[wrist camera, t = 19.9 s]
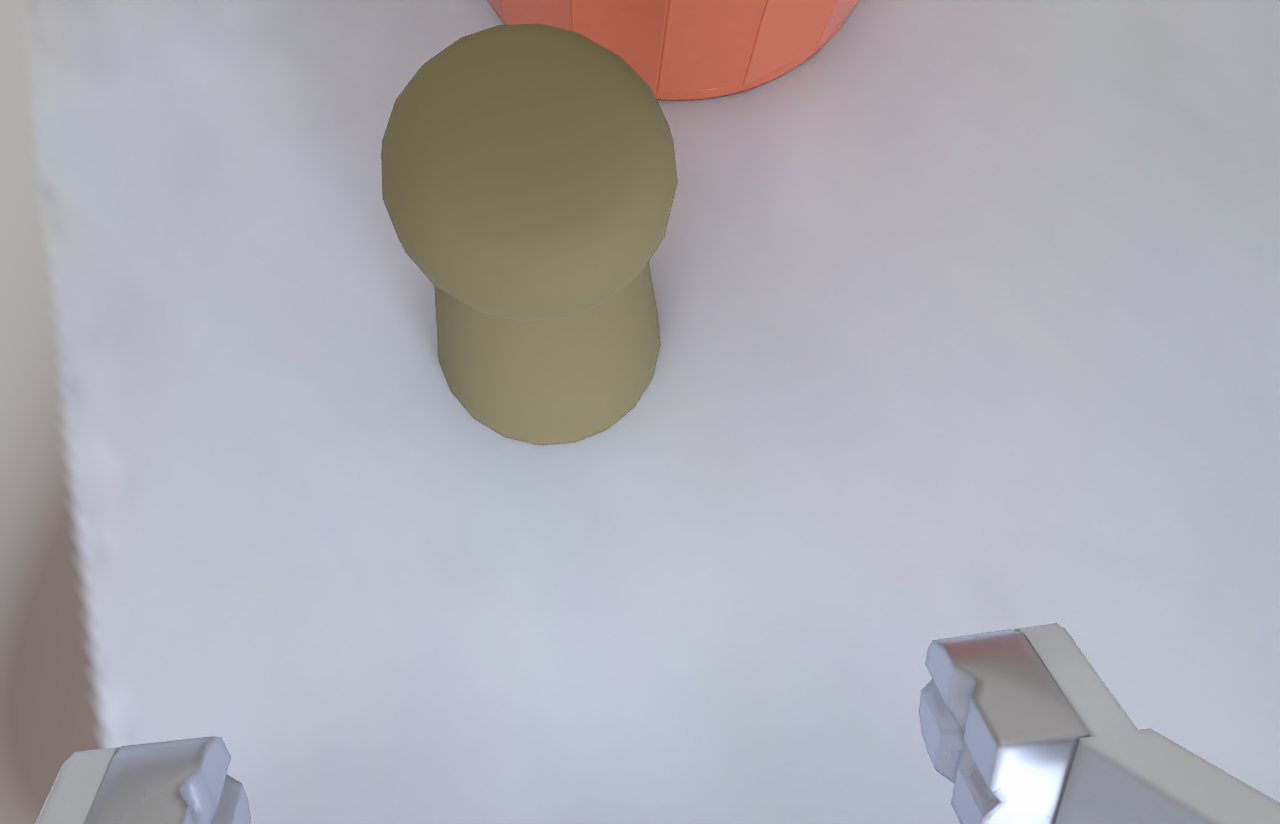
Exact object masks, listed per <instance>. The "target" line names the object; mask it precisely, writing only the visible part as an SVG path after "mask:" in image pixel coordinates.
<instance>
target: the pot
mask: <svg viewBox="0 0 1280 824" xmlns="http://www.w3.org/2000/svg"><path fill="white" fill-rule="evenodd" d="M858 1H859V0H488V2H489V3H490V4H491V6H492V7H493V9H494V10H495V12H496V13H497V15H498V16H499V17H500V19H501V20H502V21H503V22H504V23H505V24H506V25H516V24H544V25H548V26H552V27H556V28H560V29H565V30H569V31H573V32H577V33H580V34H581V35H583V36H585V37H587V38H589V39H590V40H592V41H594V42H596V43H597V44H599V45H601V46H603V47H604V48H606V49H608V50H610V51H612V52H613V53H615V54H617V55H619V56H620V57H622V58H623V59H624V60H625V61H626V62H627V63H628V64H629V65H630V66H631V68H632V69H633V70H634V71H635V72H636V73H637V74H638V75H639V76H640V77H641V78H642V79H643V80H644V81H645V82H646V83H647V84H648V85H649V87H650V88H651V89H652V91H653V93H654V96H655V98H656V99H666V100H688V99H703V98H710V97H718V96H725V95H729V94H732V93H736V92H740V91H743V90H747V89H751V88H754V87H756V86H758V85H761V84H763V83H766V82H768V81H771V80H773V79H776V78H777V77H779V76H781V75H783V74H784V73H786V72H788V71H790V70H791V69H793V68H795V67H797V66H798V65H800V64H801V63H803V62H804V61H805V60H806V59H808V58H809V57H810V56H812V55H813V54H814V53H816V52H817V51H818V50H820V48H821V47H822V46H823V45H824V44H825V43H826V42H827V41H828V40H829V39H830V38H831V37H832V36H833V35H834V34H835V33H836V32H837V31H838V30H839V28H840V27H841V25H842V24H843V23H844V21H845V20H846V19H847V17H848V16H849V14H850V13H851V11H852V9H853V8H854V6H855V4H856V3H857V2H858Z"/></svg>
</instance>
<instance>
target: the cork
mask: <svg viewBox="0 0 1280 824" xmlns="http://www.w3.org/2000/svg"><path fill="white" fill-rule="evenodd" d="M381 161H382V193H383V200H384V203H385V205H386V208H387V210H388V213H389V215H390V218H391V220H392V223H393V225H394V228H395V230H396V233H397V235H398V238H399V240H400V242H401V244H402V246H403V248H404V250H405V252H406V253H407V254H408V256H409V257H410V258H411V259H412V260H413V261H414V262H415V264H416V265H417V266H418V267H419V268H420V269H421V271H422V272H423V273H424V274H425V275H426V276H427V277H428V279H429V280H430V281H431V282H432V283H433V284H434V287H435V304H436V322H437V340H438V357H439V362H440V365H441V367H442V370H443V372H444V375H445V378H446V380H447V383H448V385H449V388H450V390H451V392H452V393H453V395H454V396H455V397H456V398H457V399H458V400H459V402H460V403H461V404H462V405H463V406H464V408H465V409H466V410H467V411H468V412H469V413H470V415H471V416H472V417H473V418H474V419H476V420H477V421H479V422H481V423H482V424H484V425H486V426H487V427H489V428H491V429H492V430H494V431H495V432H497V433H499V434H500V435H502V436H504V437H508V438H512V439H516V440H520V441H525V442H529V443H533V444H537V445H544V444H557V443H570V442H576V441H579V440H581V439H584V438H586V437H589V436H591V435H594V434H596V433H599V432H601V431H604V430H606V429H608V428H609V427H611V426H612V425H613V424H614V423H615V422H617V421H618V420H619V419H620V418H621V417H623V416H624V415H625V414H626V413H627V412H629V411H630V410H631V409H632V408H633V407H635V405H636V403H637V402H638V400H639V399H640V397H641V395H642V394H643V392H644V391H645V389H646V387H647V386H648V384H649V383H650V381H651V379H652V378H653V374H654V369H655V365H656V361H657V357H658V352H659V348H660V337H659V327H658V317H657V309H656V303H655V297H654V291H653V286H652V280H651V274H650V268H649V262H648V261H649V260H650V258H651V256H652V255H653V253H654V252H655V250H656V249H657V247H658V246H659V244H660V242H661V241H662V239H663V238H664V236H665V232H666V228H667V223H668V219H669V215H670V211H671V207H672V203H673V198H674V194H675V190H676V186H677V182H678V181H677V172H676V163H675V153H674V144H673V138H672V135H671V132H670V128H669V125H668V123H667V121H666V119H665V117H664V115H663V113H662V110H661V108H660V106H659V104H658V102H657V100H656V98H655V96H654V93H653V91H652V89H651V88H650V87H649V85H648V84H647V83H646V82H645V81H644V80H643V79H642V78H641V77H640V76H639V75H638V74H637V73H636V72H635V71H634V70H633V69H632V68H631V66H630V65H629V64H628V63H627V62H626V61H625V60H624V59H623V58H622V57H620V56H619V55H617V54H615V53H613V52H612V51H610V50H608V49H606V48H604V47H603V46H601V45H599V44H597V43H596V42H594V41H592V40H590V39H589V38H587V37H585V36H583V35H581V34H580V33H577V32H573V31H569V30H565V29H560V28H556V27H552V26H548V25H544V24H516V25H498V26H495V27H492V28H489V29H486V30H483V31H480V32H477V33H474V34H471V35H468V36H465V37H462V38H460V39H459V40H457V41H456V42H454V43H453V44H452V45H450V46H449V47H447V48H446V49H444V50H443V51H442V52H440V53H439V54H437V55H436V56H434V57H433V58H432V59H430V60H429V61H428V62H426V63H425V64H424V65H423V66H421V68H420V69H419V70H418V71H417V73H416V74H415V75H414V77H413V78H412V79H411V81H410V82H409V83H408V85H407V86H406V87H405V89H404V90H403V91H402V93H401V94H400V95H399V97H398V98H397V99H396V101H395V104H394V107H393V110H392V113H391V116H390V119H389V122H388V125H387V128H386V131H385V134H384V137H383V141H382V153H381Z"/></svg>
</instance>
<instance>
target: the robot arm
mask: <svg viewBox="0 0 1280 824" xmlns="http://www.w3.org/2000/svg"><path fill="white" fill-rule="evenodd" d="M925 664H926V666H927V668H928V670H929V672H930V674H931V676H932V678H933V679H932V680H931V681H930V682H929V683H928V684H927V685H926V686H925V687H924V688H923V689H922V690H921V698H920V707H919V714H920V722H921V730H922V735H923V739H924V742H925V745H926V748H927V752H928V754H929V756H930V758H931V761H932V763H933V765H934V767H935V770H936V771H937V772H939V773H940V774H942V775H943V776H944V777H946V778H947V779H949V780H950V781H951V782H953V783H954V784H955V785H954V791H953V796H952V802H951V804H952V806H953V808H954V810H955V813H956V815H957V817H958V819H959V821H960V823H961V824H1280V803H1278V802H1276V801H1275V800H1273V799H1271V798H1270V797H1268V796H1266V795H1264V794H1263V793H1261V792H1259V791H1257V790H1256V789H1254V788H1252V787H1250V786H1249V785H1247V784H1245V783H1244V782H1242V781H1240V780H1238V779H1237V778H1235V777H1233V776H1231V775H1230V774H1228V773H1226V772H1225V771H1223V770H1221V769H1219V768H1218V767H1216V766H1214V765H1212V764H1211V763H1209V762H1207V761H1205V760H1204V759H1202V758H1200V757H1199V756H1197V755H1195V754H1193V753H1192V752H1190V751H1188V750H1186V749H1185V748H1183V747H1181V746H1180V745H1178V744H1176V743H1174V742H1173V741H1171V740H1169V739H1167V738H1166V737H1164V736H1162V735H1160V734H1159V733H1157V732H1155V731H1154V730H1152V729H1142V730H1137V728H1136V727H1135V725H1134V724H1133V723H1132V721H1131V720H1130V718H1129V717H1128V716H1127V714H1126V713H1125V711H1124V710H1123V709H1122V707H1121V706H1120V704H1119V703H1118V702H1117V700H1116V699H1115V697H1114V696H1113V695H1112V693H1111V692H1110V691H1109V689H1108V688H1107V686H1106V685H1105V684H1104V682H1103V681H1102V679H1101V678H1100V677H1099V675H1098V674H1097V672H1096V671H1095V670H1094V668H1093V667H1092V665H1091V664H1090V663H1089V661H1088V660H1087V658H1086V657H1085V656H1084V654H1083V653H1082V652H1081V650H1080V649H1079V647H1078V646H1077V645H1076V643H1075V642H1074V640H1073V639H1072V638H1071V636H1070V635H1069V633H1068V632H1067V631H1066V629H1065V628H1063V627H1061V626H1060V625H1058V624H1057V623H1055V624H1048V625H1041V626H1033V627H1026V628H1019V629H1015V630H1011V629H1009V630H1002V631H995V632H988V633H981V634H974V635H967V636H960V637H953V638H946V639H939V640H933V641H932V643H931V644H930V646H929V648H928V651H927V657H926V663H925ZM230 759H231V756H230V754H229V752H228V750H227V747H226V745H225V743H224V741H223V739H222V737H204V738H195V739H185V740H176V741H167V742H157V743H148V744H139V745H129V746H122V747H116V748H107V749H99V750H90V751H81V752H75V753H74V754H73V755H72V756H71V757H70V758H69V759H68V760H67V761H66V762H65V763H64V764H63V765H62V767H61V769H60V771H59V773H58V776H57V778H56V780H55V782H54V784H53V787H52V789H51V791H50V793H49V795H48V797H47V799H46V802H45V804H44V806H43V808H42V810H41V813H40V815H39V817H38V819H37V821H36V823H35V824H250V823H251V816H250V810H249V804H248V798H247V796H246V793H245V790H244V788H243V785H242V783H240V782H239V781H237V780H235V779H234V778H232V777H230V776H228V775H227V774H226V773H227V770H228V766H229V762H230Z"/></svg>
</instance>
